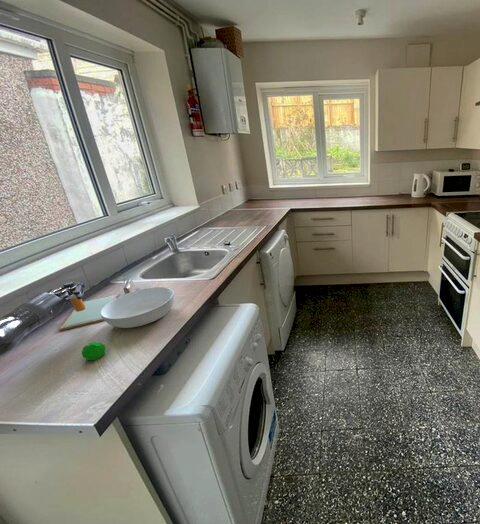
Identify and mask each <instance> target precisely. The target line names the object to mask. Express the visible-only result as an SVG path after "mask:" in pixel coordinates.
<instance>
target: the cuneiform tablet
mask: <svg viewBox="0 0 480 524" xmlns="http://www.w3.org/2000/svg"><path fill="white" fill-rule="evenodd" d="M122 280H123V284H124V286H123V292H124V295H125V294H127V293H130V292H133V291H137V287H136V284H135V282H134V281H133V279H132V278H128V279H126V280H125V278H122Z"/></svg>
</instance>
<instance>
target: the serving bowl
mask: <svg viewBox="0 0 480 524" xmlns="http://www.w3.org/2000/svg"><path fill="white" fill-rule="evenodd" d="M174 304H175V292H174V290H173V289H172V288H170V287H166V286H153V287H152V286H151V287H147V288H141V289H136V291H133V292H130V293H127V294H125V293H124V294H122V295H120V296H118V297H117V298H116V299H114V300H112V301H110V302H109V303H108V304H106V305H105V306H104V307H103V308H102V309H101V312H100V315H101V317H102V318H103V319H104V320H103V321H104V322H105V323H106V324H108V325H110V326H112V327H115V328H120V329H131V328H137V327H142V326H145V325H149V324H150V323H153V322H155V321H158V320H159V319H161V318H162V317H164V316H165V315H166V314H168V313H169V312H170V311H171V309H172V308H173V306H174Z"/></svg>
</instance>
